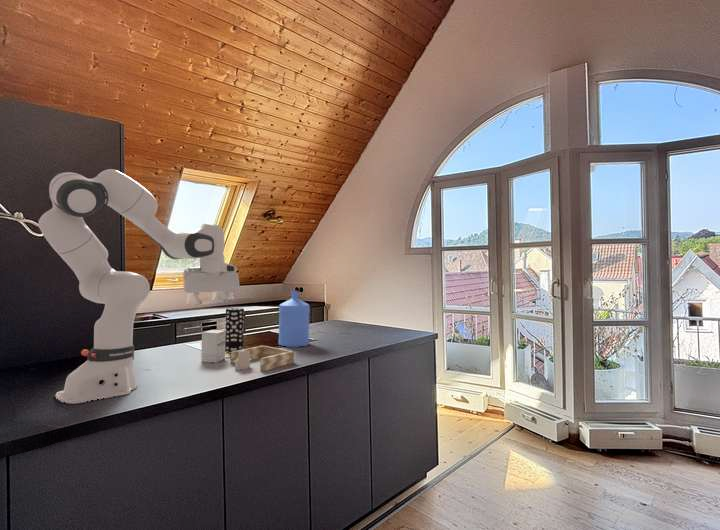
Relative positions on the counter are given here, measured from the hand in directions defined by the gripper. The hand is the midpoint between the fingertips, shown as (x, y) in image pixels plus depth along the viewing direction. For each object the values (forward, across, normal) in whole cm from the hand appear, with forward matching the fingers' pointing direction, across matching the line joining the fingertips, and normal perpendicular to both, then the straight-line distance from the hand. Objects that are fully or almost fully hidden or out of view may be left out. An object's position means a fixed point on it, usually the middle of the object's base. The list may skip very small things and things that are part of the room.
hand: (212, 303), depth 160 cm
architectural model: (+28, +12, +1) cm, 30 cm away
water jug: (+28, +53, +33) cm, 68 cm away
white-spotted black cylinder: (+27, +22, +34) cm, 49 cm away
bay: (+27, +22, +4) cm, 35 cm away
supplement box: (+27, +7, +21) cm, 35 cm away
